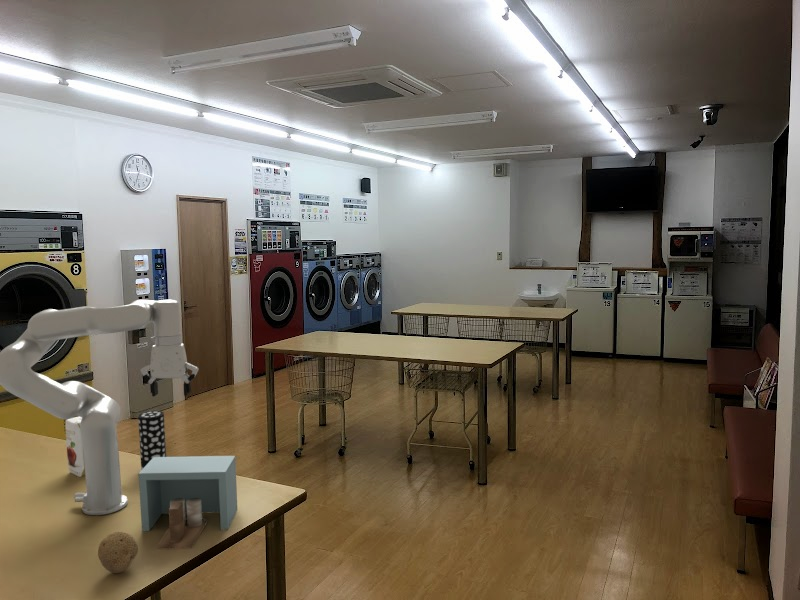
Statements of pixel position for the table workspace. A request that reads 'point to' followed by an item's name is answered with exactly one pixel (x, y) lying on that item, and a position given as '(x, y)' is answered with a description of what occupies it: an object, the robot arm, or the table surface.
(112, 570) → the natural sponge
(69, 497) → the table surface
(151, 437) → the white-spotted black cylinder
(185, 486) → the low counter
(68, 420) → the juice carton
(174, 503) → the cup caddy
